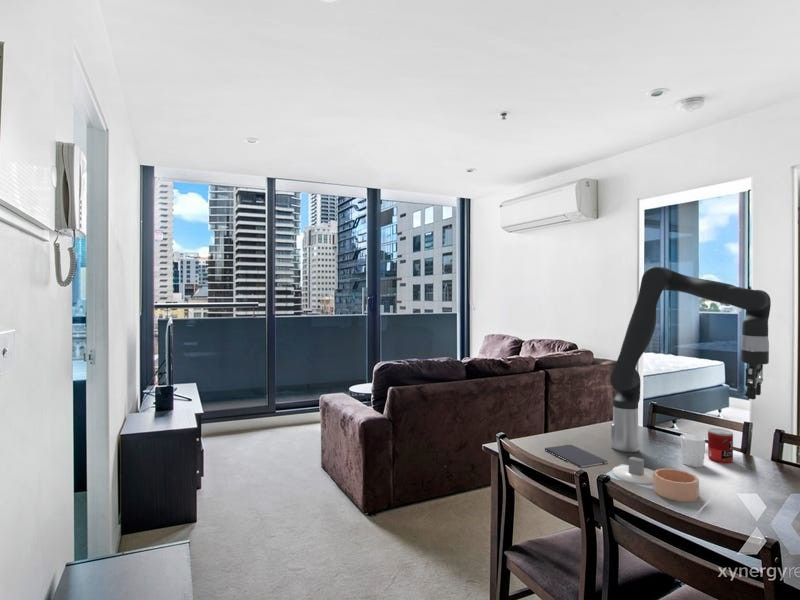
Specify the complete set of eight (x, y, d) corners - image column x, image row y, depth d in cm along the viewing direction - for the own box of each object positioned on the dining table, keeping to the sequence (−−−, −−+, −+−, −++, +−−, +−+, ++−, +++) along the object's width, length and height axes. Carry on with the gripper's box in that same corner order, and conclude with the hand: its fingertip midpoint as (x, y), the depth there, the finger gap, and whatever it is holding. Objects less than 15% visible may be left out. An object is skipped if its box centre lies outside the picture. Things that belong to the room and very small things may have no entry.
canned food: (725, 465, 173) (725, 435, 173) (703, 458, 180) (703, 429, 180) (737, 461, 177) (737, 432, 177) (715, 455, 184) (715, 426, 184)
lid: (605, 475, 164) (605, 459, 164) (622, 464, 174) (622, 448, 174) (651, 488, 153) (651, 470, 153) (667, 475, 163) (667, 458, 163)
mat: (603, 476, 164) (603, 475, 164) (621, 464, 175) (621, 463, 175) (652, 490, 152) (652, 489, 152) (669, 476, 163) (669, 475, 163)
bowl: (648, 494, 149) (648, 475, 149) (661, 483, 158) (661, 465, 158) (691, 506, 141) (691, 486, 141) (703, 494, 149) (702, 475, 149)
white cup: (709, 468, 170) (709, 441, 170) (685, 467, 172) (685, 439, 172) (700, 461, 178) (700, 434, 178) (677, 459, 179) (677, 433, 179)
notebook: (544, 451, 192) (580, 470, 172) (544, 447, 192) (580, 465, 172) (570, 448, 196) (608, 465, 176) (570, 444, 196) (608, 461, 176)
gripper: (745, 346, 167) (745, 391, 167) (736, 350, 157) (735, 398, 158) (772, 348, 162) (771, 395, 162) (764, 352, 152) (764, 402, 152)
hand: (754, 396), depth 160 cm, fingers open, 8 cm apart
